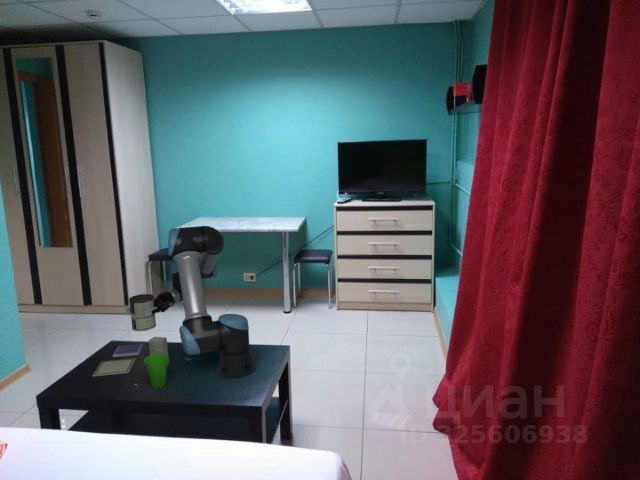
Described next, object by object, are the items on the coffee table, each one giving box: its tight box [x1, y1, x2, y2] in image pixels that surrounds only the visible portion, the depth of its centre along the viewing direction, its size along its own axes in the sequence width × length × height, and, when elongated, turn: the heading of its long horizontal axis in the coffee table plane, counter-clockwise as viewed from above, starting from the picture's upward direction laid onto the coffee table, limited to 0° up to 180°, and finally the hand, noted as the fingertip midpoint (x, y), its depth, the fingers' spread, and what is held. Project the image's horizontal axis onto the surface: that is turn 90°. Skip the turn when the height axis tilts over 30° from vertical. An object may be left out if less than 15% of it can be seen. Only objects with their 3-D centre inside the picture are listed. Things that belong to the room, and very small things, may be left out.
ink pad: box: [112, 343, 144, 358], centre depth 213 cm, size 11×11×1 cm
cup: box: [143, 354, 170, 389], centre depth 179 cm, size 9×9×11 cm
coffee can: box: [128, 293, 157, 332], centre depth 207 cm, size 10×10×14 cm
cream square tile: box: [92, 357, 136, 377], centre depth 196 cm, size 14×14×1 cm
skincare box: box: [148, 336, 170, 366], centre depth 196 cm, size 6×4×12 cm
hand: (135, 313), depth 203 cm, fingers closed on coffee can, 10 cm apart
